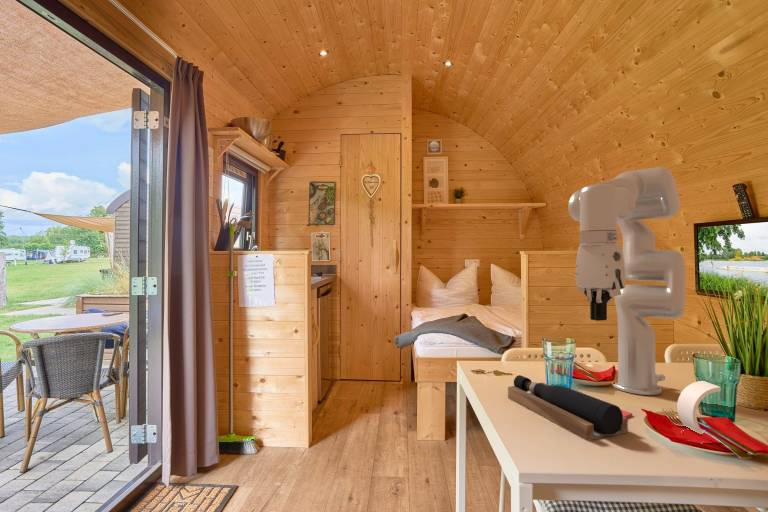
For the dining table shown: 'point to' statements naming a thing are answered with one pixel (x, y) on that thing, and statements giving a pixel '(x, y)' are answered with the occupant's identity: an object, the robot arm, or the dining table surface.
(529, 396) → the cradle
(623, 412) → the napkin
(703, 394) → the white crescent arch
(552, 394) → the wine bottle
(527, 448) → the dining table surface
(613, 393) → the dining table surface
